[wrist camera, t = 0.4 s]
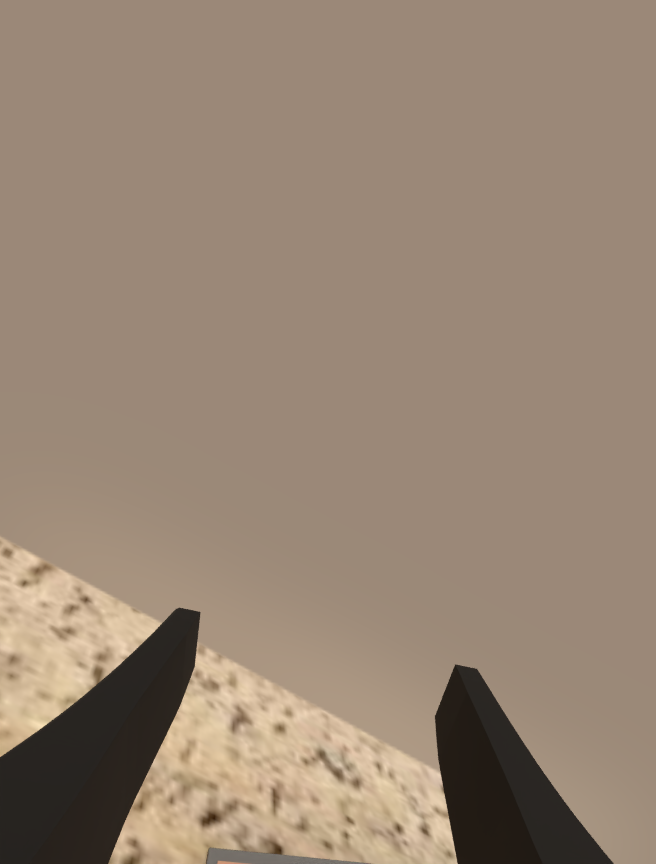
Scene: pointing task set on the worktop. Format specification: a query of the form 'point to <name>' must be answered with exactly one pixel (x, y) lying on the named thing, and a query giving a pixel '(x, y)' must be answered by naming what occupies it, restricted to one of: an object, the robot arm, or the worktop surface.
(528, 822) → the robot arm
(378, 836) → the worktop surface
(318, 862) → the rubber mat
